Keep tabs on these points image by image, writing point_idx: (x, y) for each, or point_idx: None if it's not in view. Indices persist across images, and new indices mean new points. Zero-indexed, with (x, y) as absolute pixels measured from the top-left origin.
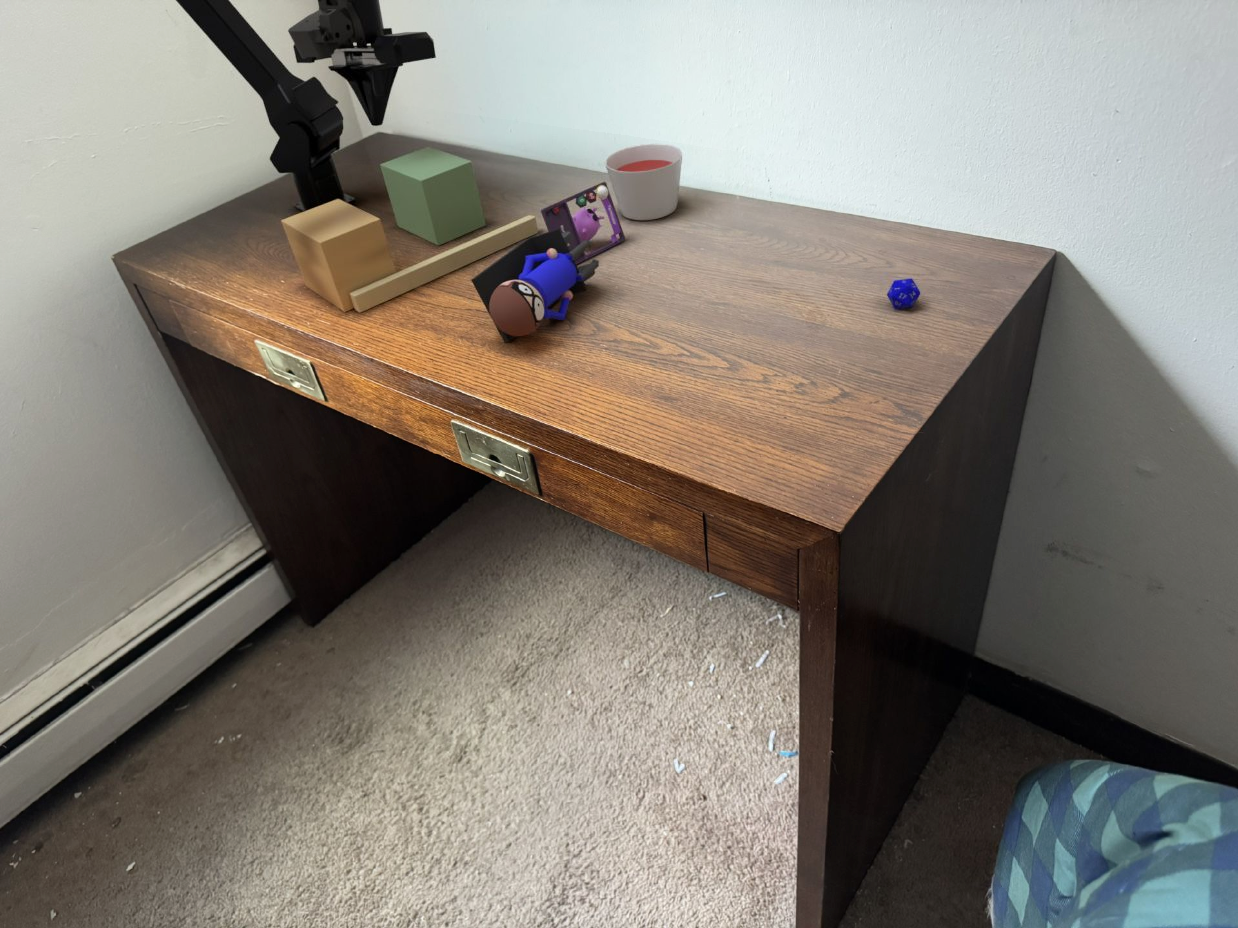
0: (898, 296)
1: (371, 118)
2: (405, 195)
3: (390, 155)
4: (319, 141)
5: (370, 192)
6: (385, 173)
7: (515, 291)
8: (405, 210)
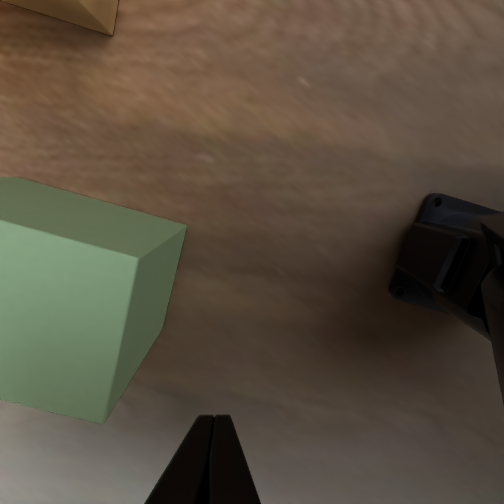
0: None
1: (210, 440)
2: (51, 211)
3: (496, 500)
4: (497, 297)
5: (397, 346)
6: (123, 245)
7: None
8: (101, 212)
